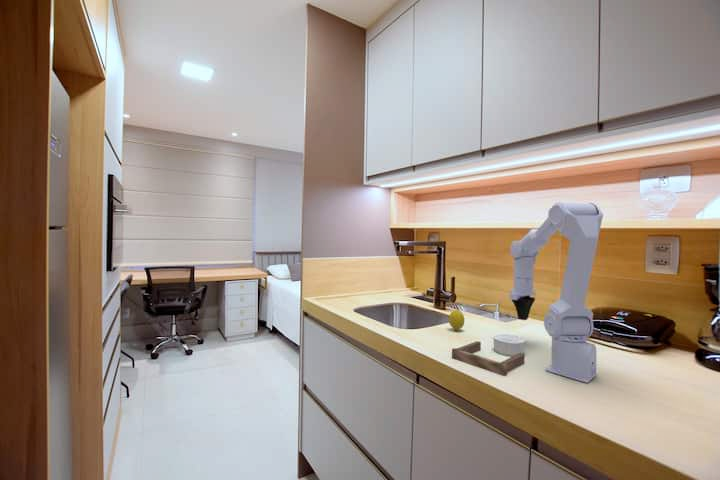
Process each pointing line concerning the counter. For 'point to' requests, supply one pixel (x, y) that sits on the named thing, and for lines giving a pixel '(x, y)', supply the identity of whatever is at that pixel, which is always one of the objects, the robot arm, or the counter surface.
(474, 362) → the walnut rail
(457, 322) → the lemon
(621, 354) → the counter surface
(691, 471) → the counter surface
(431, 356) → the counter surface
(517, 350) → the ramekin
